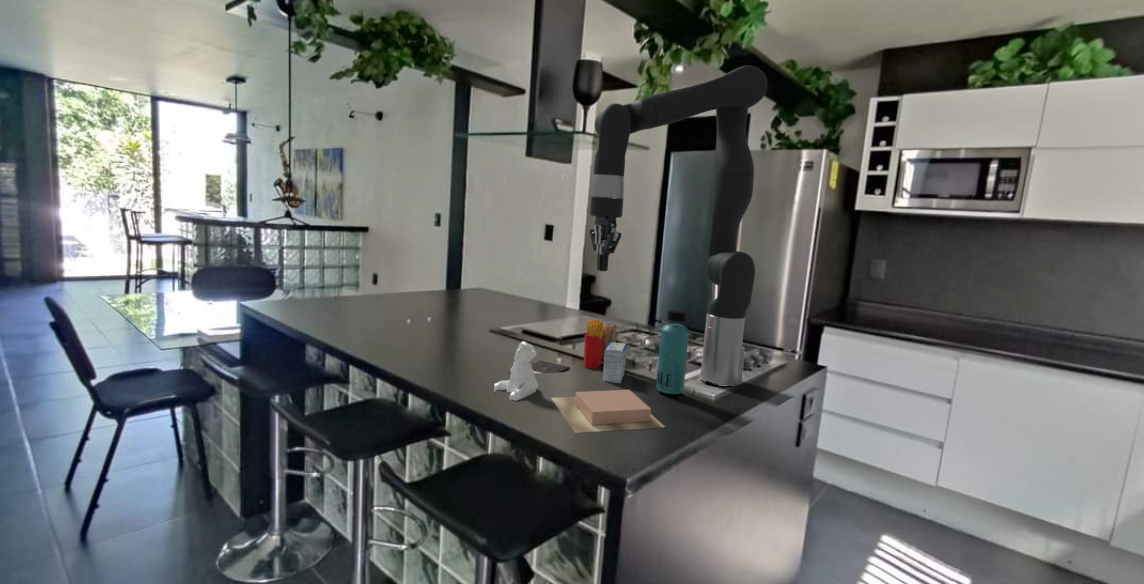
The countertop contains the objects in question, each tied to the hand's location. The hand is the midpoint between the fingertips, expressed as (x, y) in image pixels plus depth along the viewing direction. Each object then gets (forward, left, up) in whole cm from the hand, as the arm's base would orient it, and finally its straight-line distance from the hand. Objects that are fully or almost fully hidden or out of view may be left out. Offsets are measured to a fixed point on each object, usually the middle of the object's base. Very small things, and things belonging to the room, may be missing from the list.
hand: (602, 270), depth 125 cm
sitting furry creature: (+20, +7, -27) cm, 35 cm away
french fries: (-4, -13, -27) cm, 30 cm away
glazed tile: (+4, +16, -25) cm, 30 cm away
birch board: (+5, +21, -27) cm, 35 cm away
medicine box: (-5, 0, -27) cm, 28 cm away
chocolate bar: (+13, -7, -28) cm, 31 cm away
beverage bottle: (-14, +12, -27) cm, 33 cm away
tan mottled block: (-10, -19, -27) cm, 35 cm away
